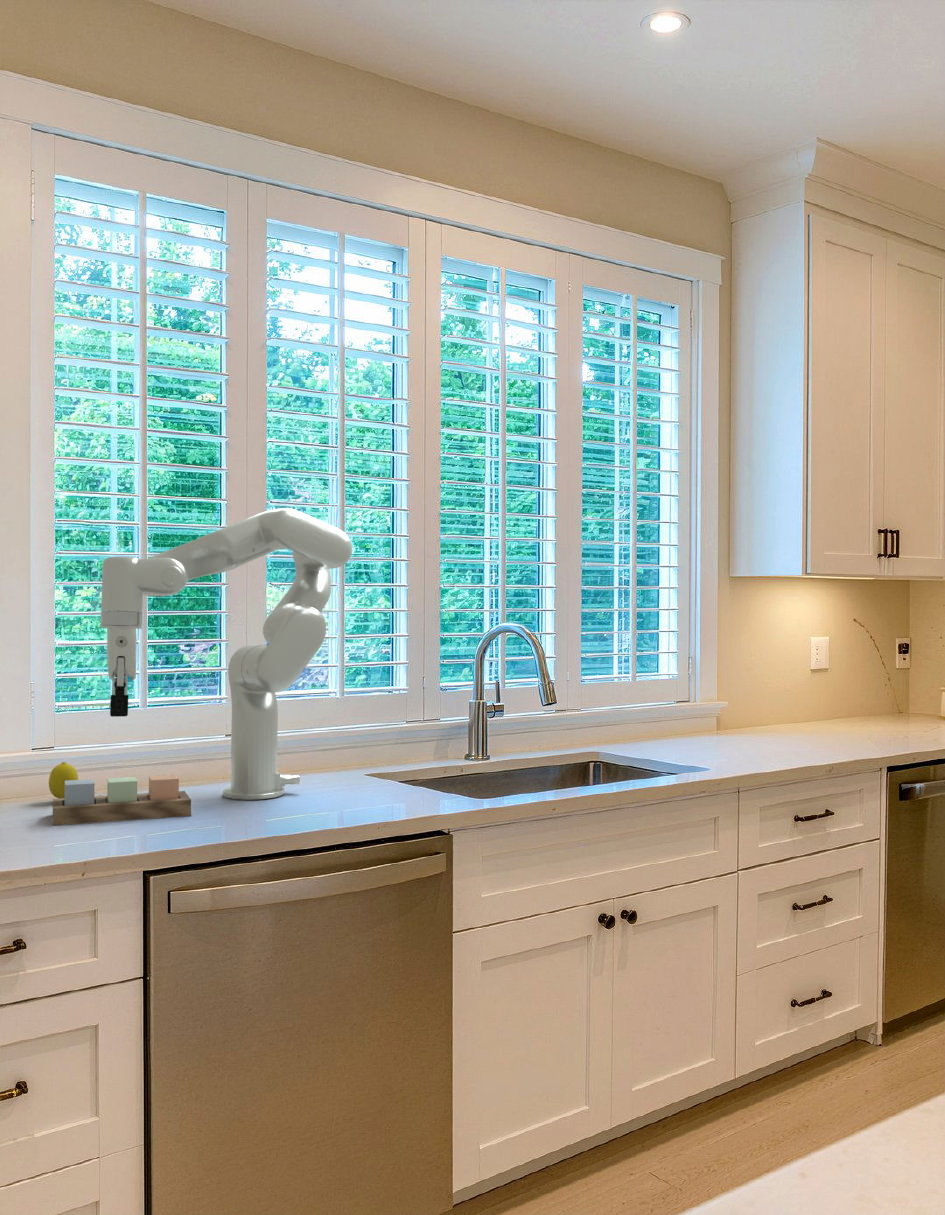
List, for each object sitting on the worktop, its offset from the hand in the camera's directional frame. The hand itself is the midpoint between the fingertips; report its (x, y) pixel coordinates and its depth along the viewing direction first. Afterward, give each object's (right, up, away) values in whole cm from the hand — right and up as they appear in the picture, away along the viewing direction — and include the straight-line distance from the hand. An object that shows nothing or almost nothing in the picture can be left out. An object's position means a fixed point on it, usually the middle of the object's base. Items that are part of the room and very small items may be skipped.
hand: (118, 715), depth 190 cm
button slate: (-5, -16, -7) cm, 19 cm away
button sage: (+2, -17, -4) cm, 17 cm away
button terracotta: (+9, -17, -1) cm, 19 cm away
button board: (+2, -18, -4) cm, 19 cm away
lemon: (-14, -18, +9) cm, 25 cm away
